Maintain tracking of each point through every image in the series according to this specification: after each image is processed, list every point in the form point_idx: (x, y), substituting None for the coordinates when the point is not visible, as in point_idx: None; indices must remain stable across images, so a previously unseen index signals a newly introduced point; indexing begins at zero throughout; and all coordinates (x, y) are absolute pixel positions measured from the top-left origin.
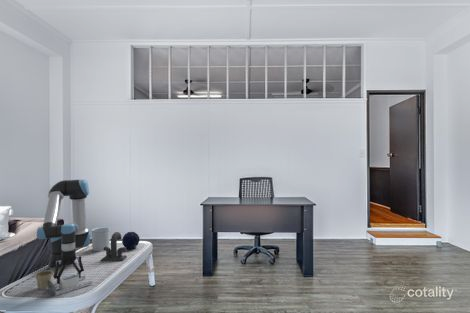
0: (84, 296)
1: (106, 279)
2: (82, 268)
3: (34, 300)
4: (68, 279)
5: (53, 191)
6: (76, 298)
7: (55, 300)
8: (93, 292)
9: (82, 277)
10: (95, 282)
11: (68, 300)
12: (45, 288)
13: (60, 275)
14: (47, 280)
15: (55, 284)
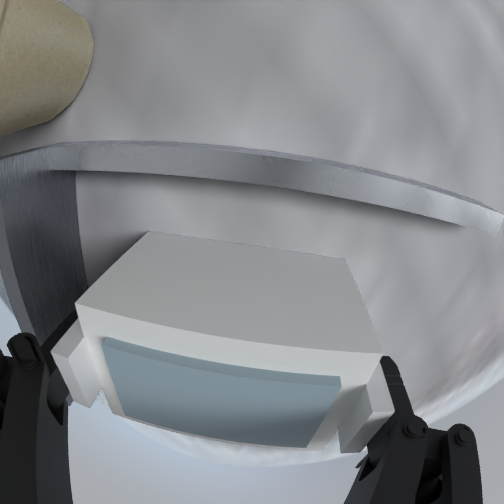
0: (248, 465)
1: (489, 372)
2: (425, 501)
3: (6, 296)
4: (186, 433)
5: None
6: (208, 456)
7: (106, 401)
8: (306, 463)
9: (467, 225)
10: (435, 373)
11: (168, 445)
12: (42, 122)
13: (59, 439)
14: None
15: (95, 169)
